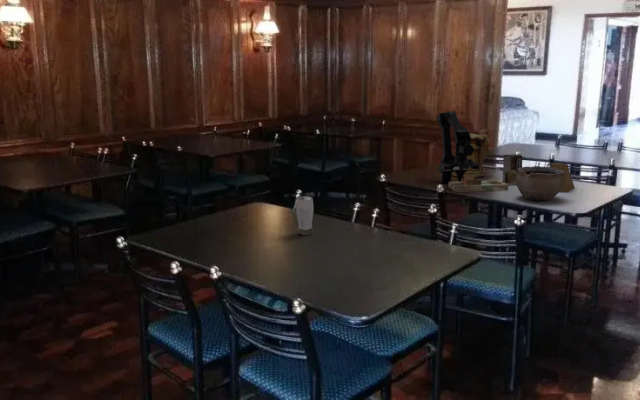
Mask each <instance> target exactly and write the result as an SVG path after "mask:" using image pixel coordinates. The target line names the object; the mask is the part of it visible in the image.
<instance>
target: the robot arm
mask: <svg viewBox="0 0 640 400" xmlns="http://www.w3.org/2000/svg"><path fill="white" fill-rule="evenodd" d="M436 121H437V125H438V127H439V128H440V129H441V141H442V156H441V158H440V163H439V165H438V167H437V171H438V173H441V177H440V178H441V180H439V182H440V183H441V184H449V182H452V181H453V175H452V172H455V173H456V175H457V176H456V177H457V181H459V182H461V180H462V177H463V175H464V173H465V172H466V171H468V169H469V167H472V168H473V169H479V164H478V163H476V162H473V160H472V159H469V160H467V156H470V155H472V154H473V152H474V148H473V146H472V145H470V143H471V140H472V139H471V136H470V134H471V133H470V131H469V130H468V129H467V127H466V126H463V125H462V124H461V122H460V120H459V118H458V116H457V113H456V111H452V110H451V111H449V110H447V111H445V112H439V113H438V115H436ZM451 128H452V131H453V133H452V135H453V139H454V144H455V149H454V155H453V153H452V152H453V151H452V138H451ZM469 133H470V134H469ZM467 139H468V140H467ZM459 168H460V170H459Z"/></svg>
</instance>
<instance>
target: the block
mask: <svg viewBox="0 0 640 400" xmlns="http://www.w3.org/2000/svg"><path fill="white" fill-rule="evenodd" d="M468 180H474V177H473V176H471V175H465V176H463V177H462V180H461V183H462V184H464V185H467V184H468Z"/></svg>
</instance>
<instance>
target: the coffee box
mask: <svg viewBox="0 0 640 400" xmlns="http://www.w3.org/2000/svg"><path fill="white" fill-rule="evenodd" d="M523 158H524V157H523V155H522V154H520V153H519V154H503V163H502V164H503V165H502V182H504V183H506V184H508V186H517V184H516V180H517V176H518V174H519V173H518V168H521V167H523Z"/></svg>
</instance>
